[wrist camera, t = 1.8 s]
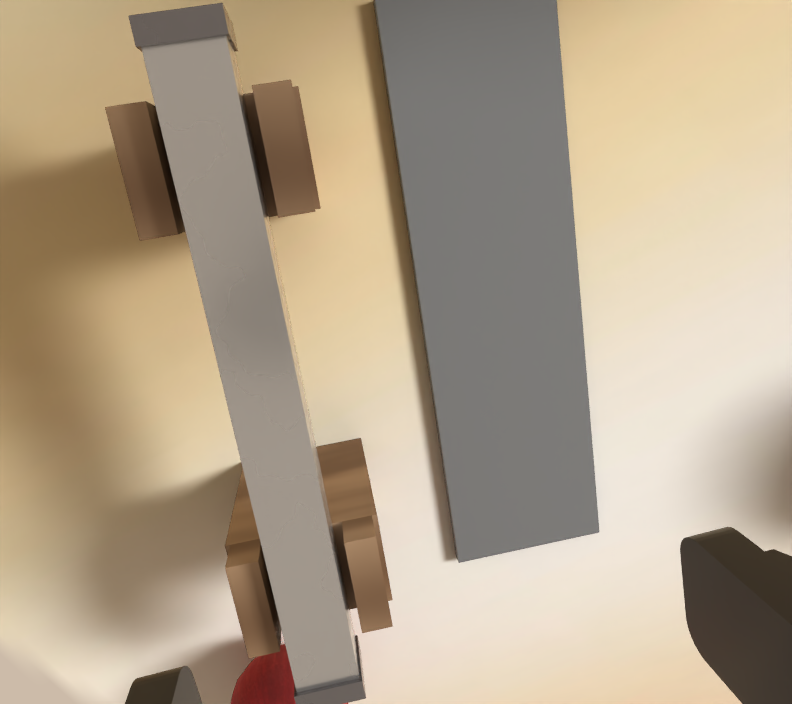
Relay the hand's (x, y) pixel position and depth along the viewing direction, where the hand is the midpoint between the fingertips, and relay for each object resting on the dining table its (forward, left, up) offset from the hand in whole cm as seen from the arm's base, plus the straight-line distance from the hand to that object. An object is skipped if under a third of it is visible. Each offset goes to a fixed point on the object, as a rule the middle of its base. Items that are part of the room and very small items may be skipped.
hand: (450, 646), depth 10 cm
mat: (0, +7, -23) cm, 24 cm away
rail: (0, -4, -15) cm, 15 cm away
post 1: (-8, -4, -23) cm, 24 cm away
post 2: (+8, -4, -23) cm, 24 cm away
